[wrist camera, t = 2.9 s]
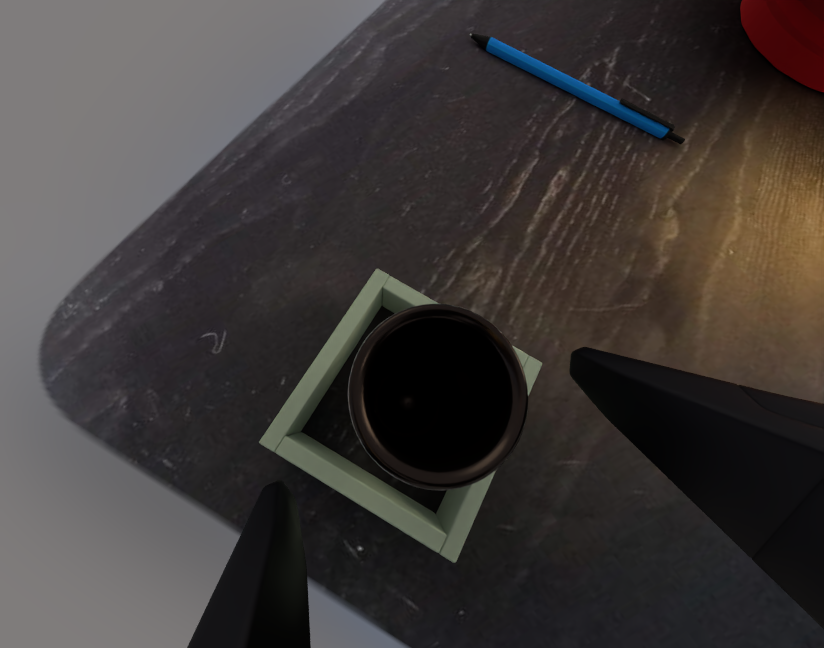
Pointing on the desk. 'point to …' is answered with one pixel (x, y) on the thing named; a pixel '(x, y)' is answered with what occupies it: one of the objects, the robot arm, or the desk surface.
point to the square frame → (344, 476)
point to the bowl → (788, 36)
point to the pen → (581, 89)
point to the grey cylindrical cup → (437, 397)
